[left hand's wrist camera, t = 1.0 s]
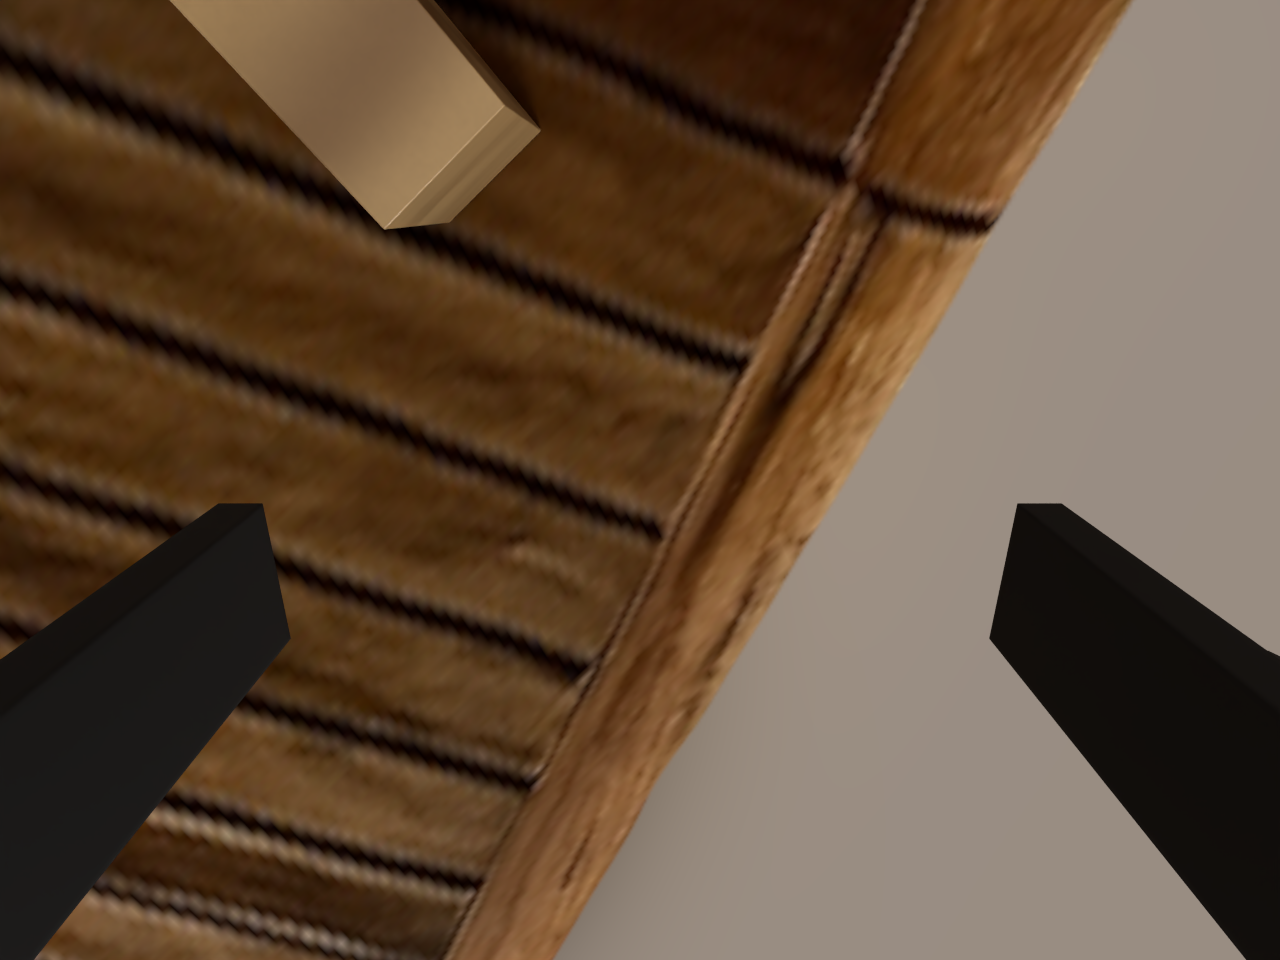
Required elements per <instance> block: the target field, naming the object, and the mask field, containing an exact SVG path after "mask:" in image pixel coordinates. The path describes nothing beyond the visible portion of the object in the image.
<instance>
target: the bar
mask: <svg viewBox="0 0 1280 960" xmlns="http://www.w3.org/2000/svg"><path fill="white" fill-rule="evenodd" d="M170 1H171V2H172V3H173V4H174V5H175V6H176V7H177V9H178V10H179V11H180V12H181V13H182V14H183V15H184V16H185V17H186V18H187V19H188V20H189V21H190V22H191V24H192V25H193V26H194V27H195V28H196V29H197V30H198V31H199V32H200V33H201V34H202V35H203V36H204V37H205V38H206V40H207V41H208V42H209V43H210V44H211V45H212V46H213V47H214V48H215V49H216V50H217V51H218V52H219V53H220V55H221V56H222V57H223V58H224V59H225V60H226V61H227V62H228V63H229V64H230V65H231V66H232V67H233V68H234V69H235V71H236V72H237V73H238V74H239V75H240V76H241V77H242V78H243V79H244V80H245V81H246V82H247V83H248V84H249V86H250V87H251V88H252V89H253V90H254V91H255V92H256V93H257V94H258V95H259V96H260V97H261V98H262V99H263V100H264V102H265V103H266V104H267V105H268V106H269V107H270V108H271V109H272V110H273V111H274V112H275V113H276V114H277V115H278V116H279V118H280V119H281V120H282V121H283V122H284V123H285V124H286V125H287V126H288V127H289V128H290V129H291V130H292V131H293V133H294V134H295V135H296V136H297V137H298V138H299V139H300V140H301V141H302V142H303V143H304V144H305V145H306V146H307V147H308V149H309V150H310V151H311V152H312V153H313V154H314V155H315V156H316V157H317V158H318V159H319V160H320V161H321V162H322V164H323V165H324V166H325V167H326V168H327V169H328V170H329V171H330V172H331V173H332V174H333V175H334V176H335V177H336V178H337V180H338V181H339V182H340V183H341V184H342V185H343V186H344V187H345V188H346V189H347V190H348V191H349V192H350V193H351V195H352V196H353V197H354V198H355V199H356V200H357V201H358V202H359V203H360V204H361V205H362V206H363V207H364V208H365V209H366V211H367V212H368V213H369V214H370V215H371V216H372V217H373V218H374V219H375V220H376V221H377V222H378V223H379V224H380V226H381V227H382V228H383V229H392V228H401V227H411V226H421V225H430V224H440V223H449V222H450V221H451V220H452V219H453V218H454V217H455V216H456V215H457V214H458V213H459V212H460V211H461V210H462V209H463V208H464V207H465V206H466V205H467V204H468V203H469V202H470V201H471V200H472V199H473V198H474V197H475V196H476V195H477V194H478V193H479V192H480V191H481V190H482V189H483V188H484V187H485V186H486V185H487V184H488V183H489V182H490V181H491V180H492V179H493V178H494V177H495V176H496V175H497V174H498V173H499V172H500V171H501V170H502V169H503V168H504V167H505V166H506V165H507V164H508V163H509V162H510V161H511V160H512V159H513V158H514V157H515V156H516V155H517V154H518V153H519V152H520V151H521V150H522V149H523V148H524V147H525V146H526V145H527V144H528V143H529V142H530V141H531V140H532V139H533V138H534V137H535V136H536V135H537V134H538V133H539V132H540V131H541V130H540V128H539V127H538V126H537V125H536V123H535V122H534V121H533V120H532V119H531V117H530V116H529V115H528V114H527V113H526V111H525V110H524V109H523V108H522V106H521V105H520V104H519V103H518V102H517V100H516V99H515V98H514V97H513V95H512V94H511V93H510V92H509V91H508V89H507V88H506V87H505V86H504V85H503V83H502V82H501V81H500V80H499V78H498V77H497V76H496V75H495V74H494V72H493V71H492V70H491V69H490V68H489V66H488V65H487V64H486V63H485V61H484V60H483V59H482V58H481V57H480V55H479V54H478V53H477V52H476V51H475V49H474V48H473V47H472V46H471V44H470V43H469V42H468V41H467V40H466V38H465V37H464V36H463V35H462V34H461V32H460V31H459V30H458V29H457V27H456V26H455V25H454V24H453V23H452V21H451V20H450V19H449V18H448V17H447V15H446V14H445V13H444V12H443V10H442V9H441V8H440V7H439V6H438V4H437V3H436V2H435V1H434V0H170Z"/></svg>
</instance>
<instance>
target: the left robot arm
mask: <svg viewBox="0 0 1280 960" xmlns="http://www.w3.org/2000/svg"><path fill="white" fill-rule="evenodd" d="M290 639H291V638H290V633H289V628H288V624H287V619H286V614H285V609H284V604H283V600H282V595H281V590H280V585H279V580H278V575H277V571H276V566H275V561H274V556H273V551H272V547H271V542H270V537H269V532H268V527H267V523H266V518H265V513H264V508H263V504H217V505H216V506H214V507H213V508H212V509H210V510H209V511H207V512H206V513H205V514H203V515H202V516H200V517H199V518H198V519H196V520H195V521H193V522H192V523H191V524H189V525H188V526H186V527H185V528H184V529H182V530H181V531H179V532H178V533H177V534H175V535H174V536H172V537H171V538H170V539H168V540H167V541H165V542H164V543H163V544H161V545H160V546H158V547H157V548H156V549H154V550H153V551H151V552H150V553H149V554H147V555H146V556H145V557H143V558H142V559H140V560H139V561H138V562H136V563H135V564H133V565H132V566H131V567H129V568H128V569H126V570H125V571H124V572H122V573H121V574H119V575H118V576H117V577H115V578H114V579H112V580H111V581H110V582H108V583H107V584H105V585H104V586H103V587H101V588H100V589H98V590H97V591H96V592H94V593H93V594H91V595H90V596H89V597H87V598H86V599H84V600H83V601H82V602H80V603H79V604H77V605H76V606H75V607H73V608H72V609H71V610H69V611H68V612H66V613H65V614H64V615H62V616H61V617H59V618H58V619H57V620H55V621H54V622H52V623H51V624H50V625H48V626H47V627H45V628H44V629H43V630H41V631H40V632H38V633H37V634H36V635H34V636H33V637H31V638H30V639H29V640H27V641H26V642H24V643H23V644H22V645H20V646H19V647H17V648H16V649H15V650H13V651H12V652H10V653H9V654H8V655H6V656H5V657H3V658H2V659H0V960H34V959H35V958H36V956H37V955H38V954H39V953H40V951H41V950H42V949H43V948H44V946H45V945H46V944H47V943H48V941H49V940H50V939H51V938H52V936H53V935H54V934H55V933H56V931H57V930H58V929H59V928H60V926H61V925H62V924H63V923H64V921H65V920H66V919H67V918H68V916H69V915H70V914H71V913H72V911H73V910H74V909H75V908H76V906H77V905H78V904H79V903H80V901H81V900H82V899H83V898H84V896H85V895H86V894H87V893H88V891H89V890H90V889H91V888H92V886H93V885H94V884H95V883H96V881H97V880H98V879H99V878H100V876H101V875H102V874H103V873H104V871H105V870H106V869H107V868H108V866H109V865H110V864H111V863H112V861H113V860H114V859H115V858H116V856H117V855H118V854H119V853H120V851H121V850H122V849H123V848H124V846H125V845H126V844H127V843H128V841H129V840H130V839H131V838H132V836H133V835H134V834H135V833H136V831H137V830H138V829H139V828H140V826H141V825H142V824H143V823H144V821H145V820H146V819H147V818H148V816H149V815H150V814H151V813H152V811H153V810H154V809H155V808H156V806H157V805H158V804H159V803H160V801H161V800H162V799H163V798H164V796H165V795H166V794H167V793H168V791H169V790H170V789H171V788H172V786H173V785H174V784H175V782H176V781H177V780H178V779H179V777H180V776H181V775H182V774H183V772H184V771H185V770H186V769H187V767H188V766H189V765H190V764H191V762H192V761H193V760H194V759H195V757H196V756H197V755H198V754H199V752H200V751H201V750H202V749H203V747H204V746H205V745H206V744H207V742H208V741H209V740H210V739H211V737H212V736H213V735H214V734H215V732H216V731H217V730H218V729H219V727H220V726H221V725H222V724H223V722H224V721H225V720H226V719H227V717H228V716H229V715H230V714H231V712H232V711H233V710H234V709H235V707H236V706H237V705H238V704H239V702H240V701H241V700H242V699H243V697H244V696H245V695H246V694H247V692H248V691H249V690H250V689H251V687H252V686H253V685H254V684H255V682H256V681H257V680H258V679H259V677H260V676H261V675H262V674H263V672H264V671H265V670H266V669H267V667H268V666H269V665H270V664H271V662H272V661H273V660H274V659H275V657H276V656H277V655H278V654H279V652H280V651H281V650H282V649H283V647H284V646H285V645H286V644H287V642H288V641H289V640H290ZM990 640H991V641H992V642H993V644H994V645H995V646H996V647H997V649H998V650H999V651H1000V652H1001V654H1002V655H1003V656H1004V657H1005V659H1006V660H1007V661H1008V662H1009V664H1010V665H1011V666H1012V667H1013V669H1014V670H1015V671H1016V672H1017V674H1018V675H1019V676H1020V677H1021V679H1022V680H1023V681H1024V682H1025V684H1026V685H1027V686H1028V687H1029V689H1030V690H1031V691H1032V692H1033V694H1034V695H1035V696H1036V697H1037V699H1038V700H1039V701H1040V702H1041V704H1042V705H1043V706H1044V707H1045V709H1046V710H1047V711H1048V712H1049V714H1050V715H1051V716H1052V717H1053V719H1054V720H1055V721H1056V722H1057V724H1058V725H1059V726H1060V727H1061V729H1062V730H1063V731H1064V732H1065V734H1066V735H1067V736H1068V737H1069V739H1070V740H1071V741H1072V742H1073V744H1074V745H1075V746H1076V747H1077V749H1078V750H1079V751H1080V752H1081V754H1082V755H1083V756H1084V757H1085V759H1086V760H1087V761H1088V762H1089V764H1090V765H1091V766H1092V767H1093V769H1094V770H1095V771H1096V772H1097V774H1098V775H1099V776H1100V777H1101V779H1102V780H1103V781H1104V783H1105V784H1106V785H1107V786H1108V788H1109V789H1110V790H1111V791H1112V792H1113V794H1114V795H1115V796H1116V797H1117V799H1118V800H1119V801H1120V803H1121V804H1122V805H1123V806H1124V807H1125V809H1126V810H1127V811H1128V812H1129V814H1130V815H1131V816H1132V818H1133V819H1134V820H1135V821H1136V823H1137V824H1138V825H1139V826H1140V828H1141V829H1142V830H1143V831H1144V832H1145V834H1146V835H1147V836H1148V838H1149V839H1150V840H1151V841H1152V843H1153V844H1154V845H1155V846H1156V848H1157V849H1158V850H1159V851H1160V853H1161V854H1162V855H1163V856H1164V857H1165V859H1166V860H1167V861H1168V863H1169V864H1170V865H1171V866H1172V868H1173V869H1174V870H1175V871H1176V873H1177V874H1178V875H1179V876H1180V877H1181V879H1182V880H1183V881H1184V883H1185V884H1186V885H1187V886H1188V888H1189V889H1190V890H1191V891H1192V892H1193V894H1194V895H1195V896H1196V898H1197V899H1198V900H1199V901H1200V903H1201V904H1202V905H1203V906H1204V908H1205V909H1206V910H1207V911H1208V913H1209V914H1210V915H1211V916H1212V918H1213V919H1214V920H1215V921H1216V923H1217V924H1218V925H1219V926H1220V928H1221V929H1222V930H1223V931H1224V933H1225V934H1226V935H1227V936H1228V938H1229V939H1230V940H1231V941H1232V943H1233V944H1234V945H1235V946H1236V948H1237V949H1238V950H1239V951H1240V953H1241V954H1242V955H1243V956H1244V958H1245V959H1246V960H1280V656H1278V655H1276V654H1274V653H1272V652H1270V651H1267V650H1265V649H1264V648H1263V647H1261V646H1260V645H1258V644H1257V643H1256V642H1254V641H1253V640H1251V639H1250V638H1249V637H1247V636H1246V635H1244V634H1243V633H1242V632H1240V631H1239V630H1237V629H1236V628H1235V627H1233V626H1232V625H1230V624H1229V623H1228V622H1226V621H1225V620H1223V619H1222V618H1221V617H1219V616H1218V615H1216V614H1215V613H1214V612H1212V611H1211V610H1209V609H1208V608H1207V607H1205V606H1204V605H1203V604H1201V603H1200V602H1198V601H1197V600H1196V599H1194V598H1193V597H1191V596H1190V595H1188V594H1187V593H1186V592H1184V591H1183V590H1182V589H1180V588H1179V587H1177V586H1176V585H1174V584H1173V583H1172V582H1170V581H1169V580H1168V579H1166V578H1165V577H1163V576H1162V575H1160V574H1159V573H1158V572H1156V571H1155V570H1154V569H1152V568H1151V567H1149V566H1148V565H1147V564H1145V563H1144V562H1142V561H1141V560H1140V559H1138V558H1137V557H1135V556H1134V555H1133V554H1131V553H1130V552H1129V551H1127V550H1126V549H1124V548H1123V547H1121V546H1120V545H1119V544H1117V543H1116V542H1115V541H1113V540H1112V539H1110V538H1109V537H1108V536H1106V535H1105V534H1103V533H1102V532H1101V531H1099V530H1098V529H1096V528H1095V527H1094V526H1092V525H1091V524H1089V523H1088V522H1087V521H1085V520H1084V519H1082V518H1081V517H1080V516H1078V515H1077V514H1075V513H1074V512H1073V511H1071V510H1070V509H1068V508H1067V507H1066V506H1064V505H1063V504H1017V508H1016V513H1015V518H1014V523H1013V528H1012V532H1011V537H1010V542H1009V547H1008V552H1007V557H1006V561H1005V566H1004V571H1003V576H1002V580H1001V585H1000V590H999V595H998V600H997V604H996V609H995V614H994V619H993V624H992V629H991V633H990Z"/></svg>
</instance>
